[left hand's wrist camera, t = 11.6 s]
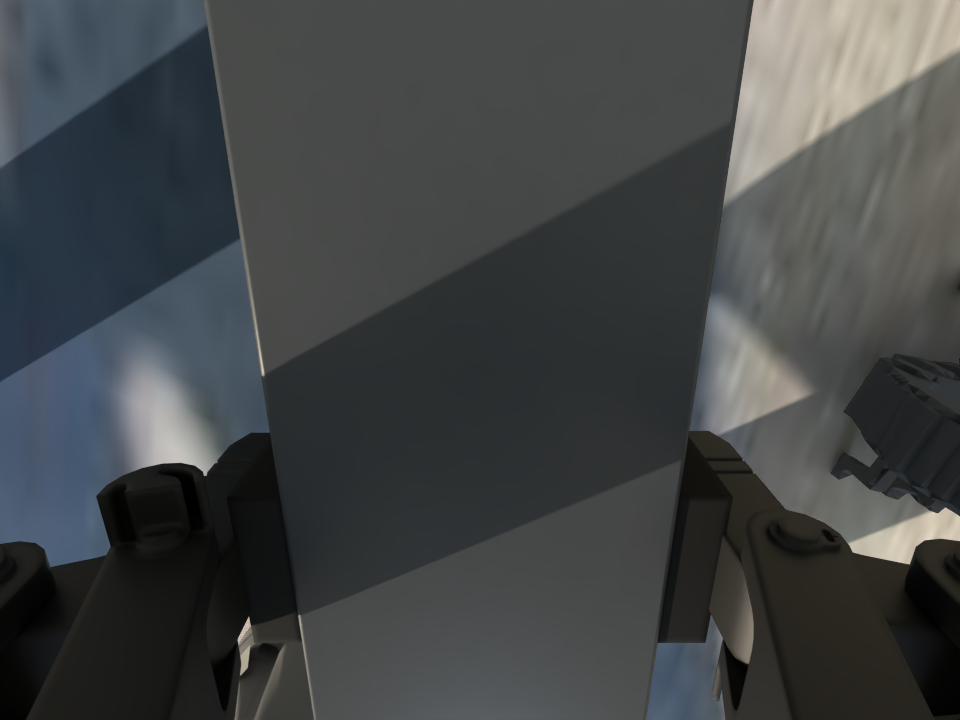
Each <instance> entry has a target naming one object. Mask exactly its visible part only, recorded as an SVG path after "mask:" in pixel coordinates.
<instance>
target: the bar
mask: <svg viewBox="0 0 960 720" xmlns="http://www.w3.org/2000/svg"><path fill="white" fill-rule="evenodd" d="M753 1H754V0H204V5H205V12H206V18H207V25H208V31H209V38H210V44H211V51H212V57H213V64H214V70H215V77H216V83H217V90H218V96H219V103H220V109H221V116H222V122H223V129H224V135H225V142H226V148H227V155H228V162H229V168H230V175H231V181H232V188H233V194H234V201H235V207H236V214H237V220H238V227H239V233H240V240H241V246H242V253H243V259H244V266H245V272H246V279H247V285H248V292H249V298H250V305H251V311H252V318H253V324H254V331H255V337H256V344H257V351H258V357H259V364H260V370H261V377H262V383H263V390H264V396H265V403H266V409H267V416H268V422H269V429H270V435H271V442H272V448H273V455H274V461H275V468H276V474H277V481H278V487H279V494H280V500H281V507H282V513H283V520H284V527H285V533H286V540H287V546H288V553H289V559H290V566H291V572H292V579H293V585H294V592H295V598H296V605H297V611H298V618H299V624H300V631H301V637H302V644H303V650H304V657H305V663H306V670H307V676H308V683H309V689H310V696H311V702H312V709H313V716H314V720H646V716H647V709H648V703H649V696H650V689H651V683H652V676H653V669H654V662H655V656H656V649H657V642H658V636H659V629H660V622H661V616H662V609H663V602H664V596H665V589H666V582H667V576H668V569H669V562H670V556H671V549H672V542H673V535H674V529H675V522H676V515H677V509H678V502H679V495H680V489H681V482H682V475H683V469H684V462H685V455H686V449H687V442H688V435H689V429H690V422H691V415H692V408H693V402H694V395H695V388H696V382H697V375H698V368H699V362H700V355H701V348H702V342H703V335H704V328H705V322H706V315H707V308H708V302H709V295H710V288H711V282H712V275H713V268H714V261H715V255H716V248H717V241H718V235H719V228H720V221H721V215H722V208H723V201H724V195H725V188H726V181H727V175H728V168H729V161H730V155H731V148H732V141H733V134H734V128H735V121H736V114H737V108H738V101H739V94H740V88H741V81H742V74H743V68H744V61H745V54H746V48H747V41H748V34H749V28H750V21H751V14H752V7H753Z"/></svg>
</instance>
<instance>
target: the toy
mask: <svg viewBox="0 0 960 720" xmlns="http://www.w3.org/2000/svg"><path fill="white" fill-rule="evenodd" d="M958 290H960V287H959V288H958ZM959 363H960V359H959ZM844 413H846V414H847V415H849V416H850V417H851V418H852V419H853V420H854V422H855V424H856V425H857V426H858V428H859V429H860V430H861V433H862V435H863V437H864V439H865V440H866V442H867V443H868V444H869V445H870V447H871V448H872V449H873V450H874V452H875V453H876V454H877V455H878V456H879V457H878V458H877V459H876V460H875V462H874V463H873V464H872V466H871V467H868V466H866V465H864V464H863V463H861V462H860V461H858V460H857V459H855V458H854V457H852V456H849V455H846V454H843V456H842V457H841V459H840V460H839V462H838V463H837V465H836V466H835V467H834V469H833V470H832V472H831V474H832V475H833V476H835V477H836V478H837V479H842V478H844V477H847V476H849V475H852V474H853V475H854V476H855V477H856V478H857V479H859V480H860V481H861V482H862V483H863V484H864V485H865V486H867V487H868V488H869V489H870V490H874V491H879V492H882V493H883V494H884V495H886V496H889V497H891V498H894V499H897V500H898V499H899V498H901V497H902V496H904V495H905V494H906V493H909V494H911V495H912V496H913V498H914V499H915V500H916V501H917V502H918V503H920V504H921V505H923V506H925V507H926V508H927V509H929V510H930V511H932V512H935V513H939V512H940V511H941V510H942V509H944V508H945V507H946V508H948V509H949V510H951V511H953V512H954V513H956V514H957V515H959V516H960V365H957V364H953V363H950V362H935V361H926V360H923V359H920V358H917V357H912V356H906V355H899V354H895V355H894V356H893V357H891V358H880V359H879V361H878V362H877V363H876V365H875V366H874V368H873V369H872V371H871V372H870V374H869V375H868V377H867V378H866V380H865V381H864V382H863V384H862V385H861V387H860V388H859V390H858V391H857V393H856V394H855V396H854V397H853V399H852V400H851V402H850V403H849V404H848V406H847V407H846V409H845V410H844Z"/></svg>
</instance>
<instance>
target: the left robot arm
mask: <svg viewBox="0 0 960 720" xmlns="http://www.w3.org/2000/svg"><path fill="white" fill-rule="evenodd" d="M96 497H97V500H98V504H99V507H100V511H101V514H102V518H103V521H104V525H105V528H106V531H107V535H108V538H109V542H110V545H111V547H110V549H109V551H108V553H107V555H106V556H102V557H98V558H93V559H89V560H84V561H79V562H74V563H69V564H64V565H59V566H54V567H50V565H49V562H48V559H47V556H46V553H45V550H44V549H43V548H41V547H40V546H39V545H37V544H36V543H29V542H20V541H19V542H12V543H4V544H0V720H314V716H313V709H312V702H311V696H310V689H309V683H308V676H307V670H306V663H305V657H304V650H303V644H302V637H301V631H300V624H299V618H298V611H297V605H296V598H295V592H294V585H293V579H292V572H291V566H290V559H289V553H288V546H287V540H286V533H285V527H284V520H283V513H282V507H281V500H280V494H279V487H278V481H277V474H276V468H275V461H274V455H273V448H272V442H271V435H270V433H250V434H248V435H247V436H245V437H243V438H242V439H240V440H238V441H237V442H235V443H233V444H232V445H230V446H229V447H228V449H227V450H226V451H225V452H224V453H223V455H222V456H221V457H220V458H219V459H218V463H215V464H214V465H213V466H212V468H211V469H210V470H209V471H208V472H207V476H204V475H203V472H202V471H201V470H200V469H198V468H197V467H196V466H193V465H188V464H183V463H169V464H159V465H155V466H150V467H145V468H141V469H139V470H136V471H134V472H131V473H128V474H126V475H123V476H121V477H120V478H118V479H116V480H115V481H113V482H111V483H110V484H108V485H107V486H106V487H105V488H104V489H103V490H102V491H101V492H100V493H99V494H98V495H97V496H96ZM711 615H712V617H713V619H714V621H715V623H716V625H717V627H718V629H719V631H720V633H721V635H722V637H723V641H722V645H721V650H720V655H719V660H718V665H717V670H716V675H715V679H714V684H713V690H712V697H711V700H714V701H718V702H719V699H720V694H721V689H722V695H723V703H724V711H725V719H726V720H960V541H953V540H946V539H934V540H925V541H923V542H922V543H921V544H919V545H918V546H917V547H916V548H915V551H914V554H913V557H912V560H911V563H910V565H909V564H904V563H899V562H894V561H889V560H884V559H879V558H874V557H869V556H864V555H860V554H856V553H853V552H852V550H851V548H850V546H849V545H848V544H847V542H846V541H845V540H844V538H843V537H842V536H841V535H840V534H839V533H838V532H836V531H835V530H834V529H832V528H831V527H829V526H828V525H827V524H825V523H823V522H821V521H819V520H816V519H814V518H812V517H810V516H807V515H805V514H801V513H797V512H793V511H789V510H786V509H785V508H784V507H783V506H782V505H781V503H780V502H779V501H778V500H777V499H776V498H775V496H774V495H773V494H772V493H771V492H770V491H769V489H768V488H767V487H766V486H765V485H764V483H763V482H762V481H761V480H760V479H759V478H758V476H757V475H756V474H753V470H752V469H751V468H750V467H749V466H748V465H747V463H746V462H745V461H742V458H741V456H740V455H739V454H738V453H737V452H736V450H735V449H734V448H733V447H732V446H731V445H730V444H729V443H728V442H726V441H725V440H723V439H721V438H720V437H718V436H716V435H715V434H713V433H711V432H710V431H689V435H688V442H687V449H686V455H685V462H684V469H683V475H682V482H681V489H680V495H679V502H678V509H677V515H676V522H675V529H674V535H673V542H672V549H671V556H670V562H669V569H668V576H667V582H666V589H665V596H664V602H663V609H662V616H661V622H660V629H659V636H658V643H705V642H706V637H707V632H708V626H709V621H710V616H711ZM248 617H249V618H250V623H251V627H250V628H249V630H248V631H247V632H246V633H245V635H244V636H243V638H242V640H241V641H240V643H239V645H238V641H237V639H238V637H239V635H240V633H241V631H242V629H243V627H244V625H245V623H246V621H247V619H248Z"/></svg>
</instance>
